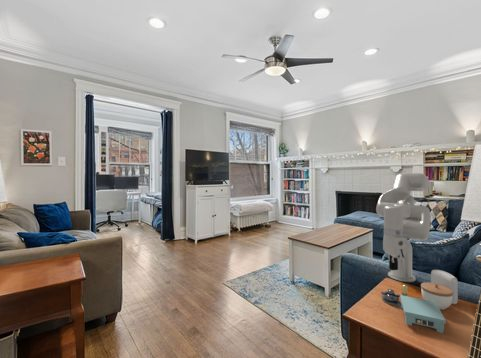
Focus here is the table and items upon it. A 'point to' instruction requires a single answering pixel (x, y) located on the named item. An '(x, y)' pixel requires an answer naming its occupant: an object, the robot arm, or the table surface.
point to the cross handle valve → (393, 297)
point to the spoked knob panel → (421, 312)
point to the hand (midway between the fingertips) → (393, 269)
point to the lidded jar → (437, 294)
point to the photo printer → (446, 282)
